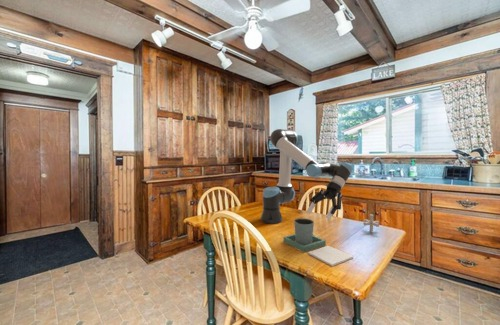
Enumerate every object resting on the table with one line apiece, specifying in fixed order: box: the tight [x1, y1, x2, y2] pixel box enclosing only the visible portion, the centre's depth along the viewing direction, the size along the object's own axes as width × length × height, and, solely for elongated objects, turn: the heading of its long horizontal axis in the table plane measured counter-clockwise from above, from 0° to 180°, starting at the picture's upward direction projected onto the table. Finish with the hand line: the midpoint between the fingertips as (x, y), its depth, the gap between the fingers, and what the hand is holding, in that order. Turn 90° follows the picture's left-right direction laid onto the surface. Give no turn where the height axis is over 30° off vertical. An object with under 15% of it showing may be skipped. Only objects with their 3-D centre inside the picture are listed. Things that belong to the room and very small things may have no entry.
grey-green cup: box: [293, 217, 315, 246], centre depth 119 cm, size 10×10×12 cm
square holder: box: [282, 233, 327, 253], centre depth 119 cm, size 15×15×2 cm
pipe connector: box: [362, 214, 380, 232], centre depth 135 cm, size 10×10×10 cm
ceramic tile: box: [307, 245, 354, 267], centre depth 104 cm, size 14×14×1 cm
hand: (317, 215), depth 122 cm, fingers open, 13 cm apart
